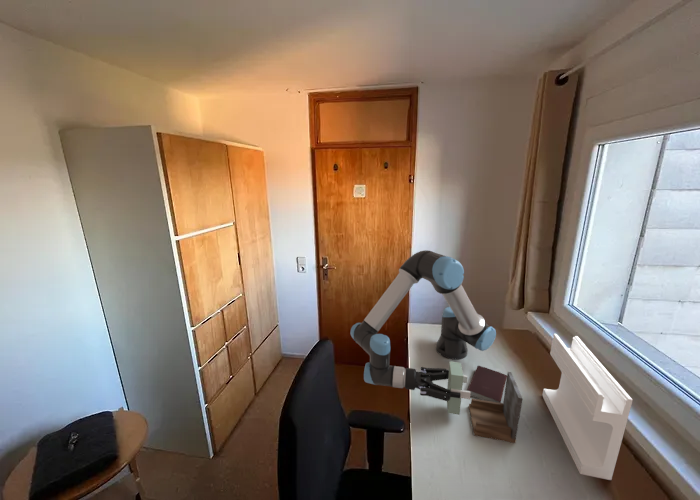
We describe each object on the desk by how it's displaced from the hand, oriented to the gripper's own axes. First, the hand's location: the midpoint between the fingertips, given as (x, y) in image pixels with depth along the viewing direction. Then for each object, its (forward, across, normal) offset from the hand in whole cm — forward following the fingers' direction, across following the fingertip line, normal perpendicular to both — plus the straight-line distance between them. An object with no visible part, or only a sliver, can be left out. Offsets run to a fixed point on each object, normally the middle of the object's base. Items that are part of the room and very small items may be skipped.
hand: (468, 387), depth 114 cm
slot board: (+8, +2, -12) cm, 15 cm away
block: (+35, -1, -13) cm, 38 cm away
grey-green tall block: (-5, 0, -9) cm, 10 cm away
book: (+11, -19, -13) cm, 26 cm away
